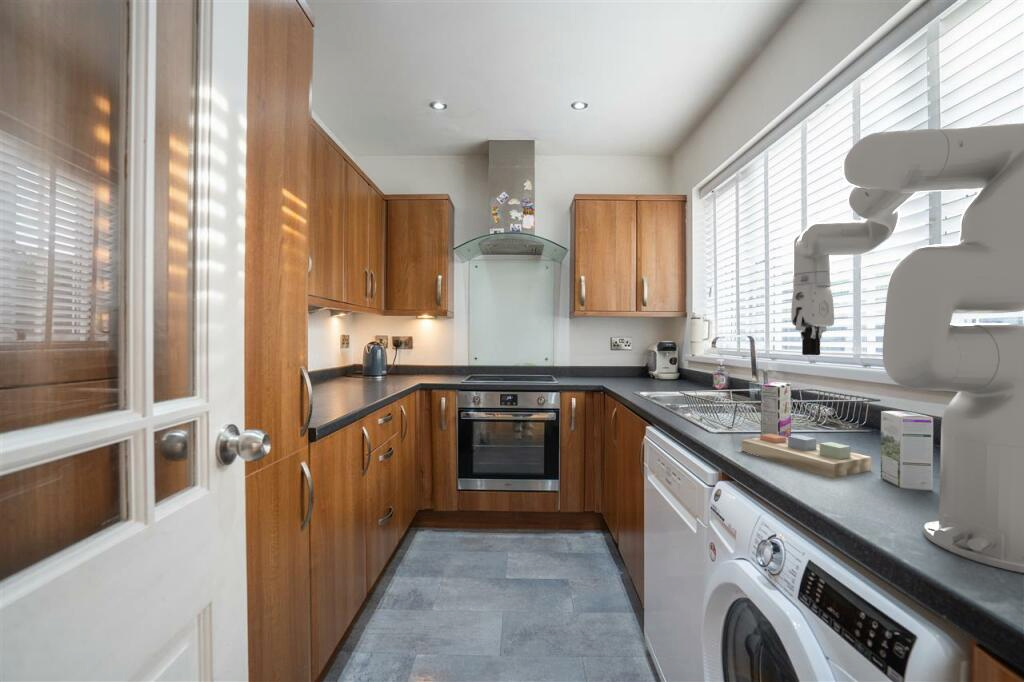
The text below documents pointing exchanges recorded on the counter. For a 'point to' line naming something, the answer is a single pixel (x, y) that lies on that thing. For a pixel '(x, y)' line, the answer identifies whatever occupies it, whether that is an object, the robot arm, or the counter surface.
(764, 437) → the terracotta button
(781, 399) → the candy bar box
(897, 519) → the counter surface
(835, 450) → the sage green button
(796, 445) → the slate grey button
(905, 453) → the syrup box
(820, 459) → the button panel
